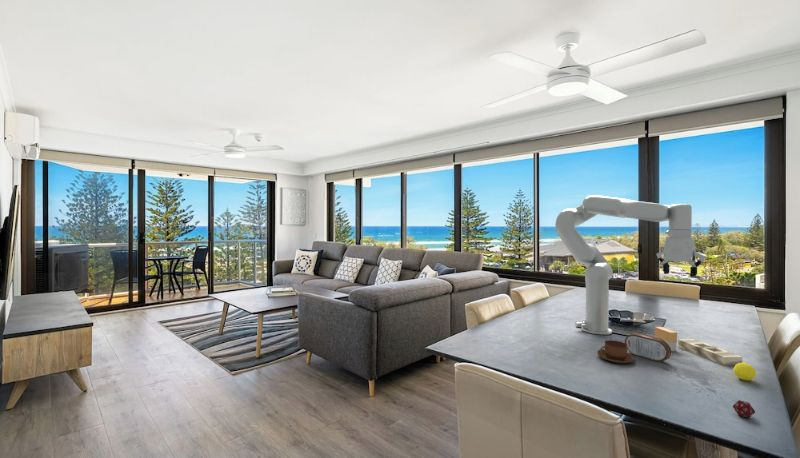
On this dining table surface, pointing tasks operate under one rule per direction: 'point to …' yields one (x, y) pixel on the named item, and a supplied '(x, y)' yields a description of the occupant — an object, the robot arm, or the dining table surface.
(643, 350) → the tin
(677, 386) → the dining table surface
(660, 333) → the light orange block
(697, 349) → the rail
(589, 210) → the robot arm
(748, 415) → the dice
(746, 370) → the lemon
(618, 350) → the cup and saucer
